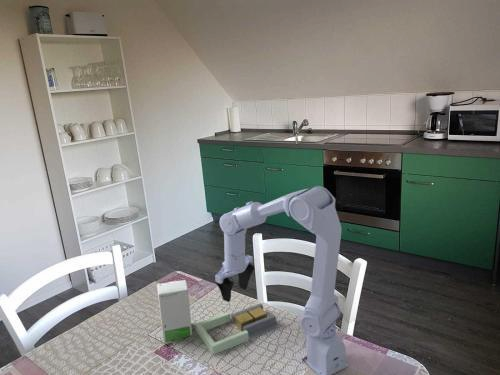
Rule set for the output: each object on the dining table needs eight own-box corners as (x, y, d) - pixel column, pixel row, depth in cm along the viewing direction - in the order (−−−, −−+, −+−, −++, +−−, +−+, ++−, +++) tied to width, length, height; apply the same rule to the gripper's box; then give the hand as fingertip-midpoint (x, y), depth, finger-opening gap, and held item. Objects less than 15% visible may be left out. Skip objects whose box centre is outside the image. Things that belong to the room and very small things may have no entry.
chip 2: (267, 322, 115) (267, 313, 115) (255, 327, 114) (255, 317, 113) (260, 315, 119) (259, 306, 118) (248, 320, 117) (248, 311, 116)
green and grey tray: (279, 331, 113) (279, 319, 112) (213, 358, 104) (212, 346, 103) (258, 311, 123) (257, 300, 122) (196, 334, 114) (195, 323, 113)
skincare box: (163, 345, 110) (156, 295, 106) (162, 331, 116) (155, 283, 112) (194, 338, 112) (188, 289, 108) (191, 325, 119) (185, 278, 114)
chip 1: (254, 327, 113) (253, 318, 113) (241, 332, 112) (241, 323, 111) (247, 320, 117) (246, 311, 116) (235, 325, 115) (234, 316, 114)
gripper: (239, 238, 118) (239, 278, 123) (206, 257, 107) (207, 300, 111) (258, 245, 114) (258, 286, 119) (226, 265, 103) (226, 310, 107)
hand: (235, 294), depth 115 cm, fingers open, 7 cm apart
